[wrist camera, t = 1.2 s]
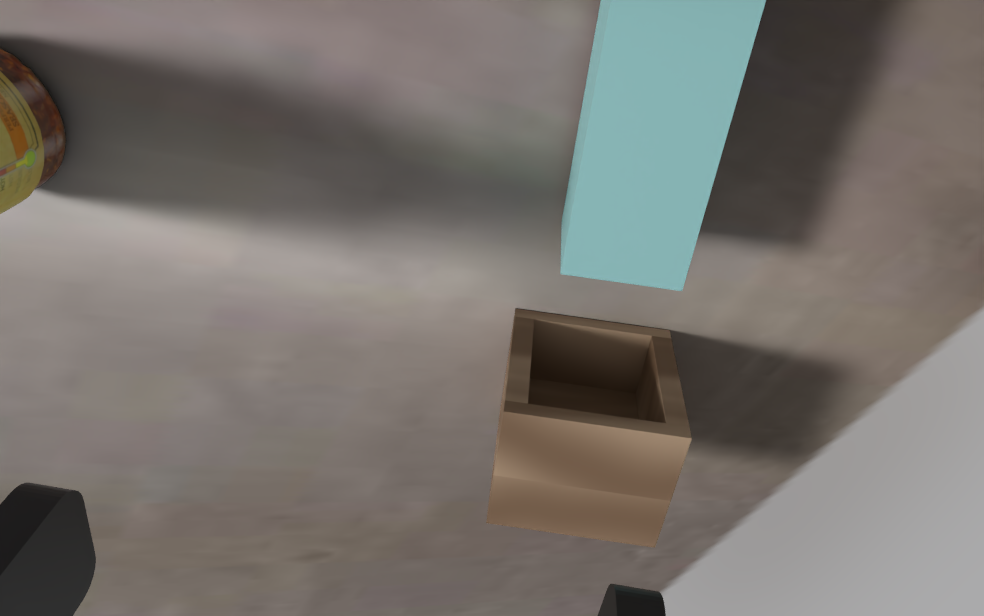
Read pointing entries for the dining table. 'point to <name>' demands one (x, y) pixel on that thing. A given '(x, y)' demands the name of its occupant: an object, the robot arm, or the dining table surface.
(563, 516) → the socket
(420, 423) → the dining table surface
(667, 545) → the dining table surface
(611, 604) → the robot arm
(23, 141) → the sauce bottle
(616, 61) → the long turquoise beam
